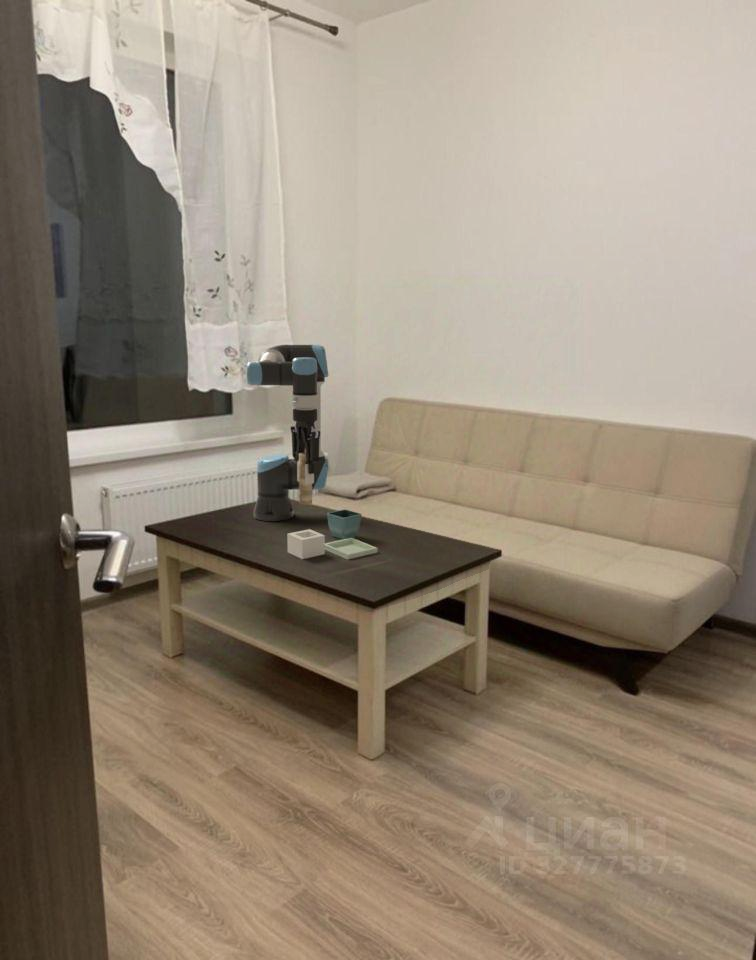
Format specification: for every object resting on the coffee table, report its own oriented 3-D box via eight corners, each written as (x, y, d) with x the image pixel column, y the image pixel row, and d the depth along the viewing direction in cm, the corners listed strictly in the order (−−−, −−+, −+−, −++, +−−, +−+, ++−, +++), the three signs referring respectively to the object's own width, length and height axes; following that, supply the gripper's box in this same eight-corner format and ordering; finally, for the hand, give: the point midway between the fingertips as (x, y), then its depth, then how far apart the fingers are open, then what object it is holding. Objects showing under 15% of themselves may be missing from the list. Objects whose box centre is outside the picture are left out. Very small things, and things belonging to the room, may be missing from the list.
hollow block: (287, 554, 243) (287, 533, 241) (309, 549, 248) (309, 529, 247) (302, 561, 236) (302, 540, 235) (324, 556, 242) (324, 535, 240)
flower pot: (345, 533, 267) (345, 508, 265) (362, 538, 261) (362, 513, 259) (326, 538, 261) (326, 513, 259) (343, 543, 255) (343, 518, 253)
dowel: (297, 502, 239) (296, 453, 235) (307, 500, 242) (307, 451, 238) (303, 505, 236) (303, 455, 232) (314, 503, 238) (314, 453, 235)
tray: (322, 550, 247) (322, 543, 247) (351, 544, 255) (351, 537, 254) (347, 561, 237) (347, 554, 236) (377, 554, 244) (377, 547, 244)
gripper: (280, 406, 236) (281, 478, 241) (310, 412, 223) (310, 489, 228) (300, 404, 241) (300, 475, 246) (330, 410, 228) (330, 485, 233)
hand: (305, 482), depth 237 cm, fingers closed on dowel, 4 cm apart
